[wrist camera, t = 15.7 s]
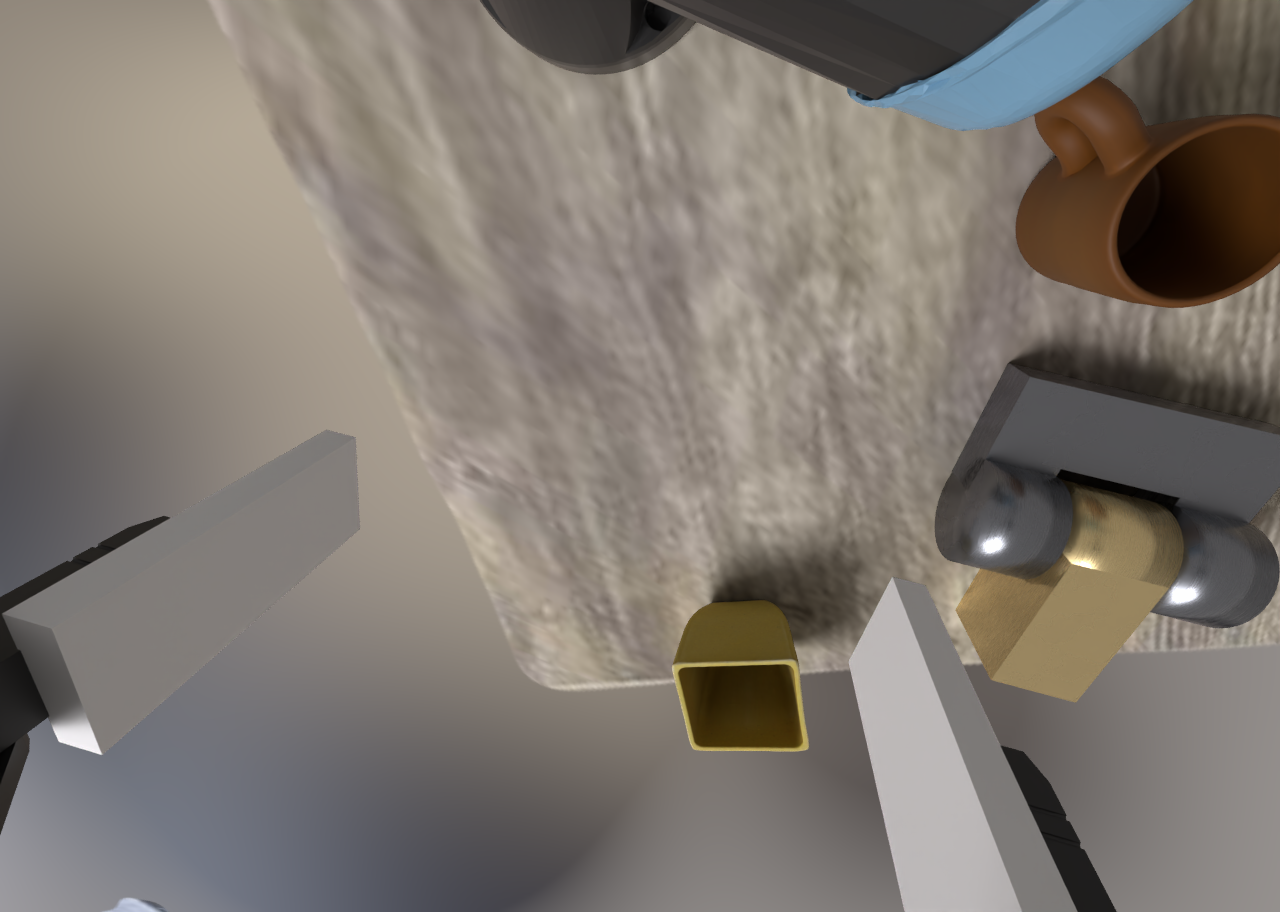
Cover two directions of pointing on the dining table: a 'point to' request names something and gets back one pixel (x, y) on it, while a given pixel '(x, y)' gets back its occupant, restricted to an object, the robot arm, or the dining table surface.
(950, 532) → the hinge base leaf
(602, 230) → the dining table surface
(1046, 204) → the mug
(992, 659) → the brass curved block
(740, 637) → the flower pot
